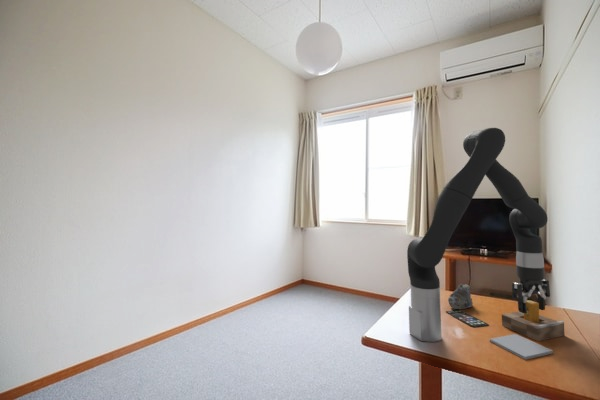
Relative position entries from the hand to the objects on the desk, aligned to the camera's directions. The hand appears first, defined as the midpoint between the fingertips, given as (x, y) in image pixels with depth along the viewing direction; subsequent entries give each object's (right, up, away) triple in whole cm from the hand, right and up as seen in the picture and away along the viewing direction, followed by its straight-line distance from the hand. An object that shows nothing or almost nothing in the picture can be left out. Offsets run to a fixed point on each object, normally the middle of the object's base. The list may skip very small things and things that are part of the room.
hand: (531, 310), depth 96 cm
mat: (-13, -7, -11) cm, 18 cm away
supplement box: (0, -7, 0) cm, 7 cm away
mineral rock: (-12, -8, +23) cm, 27 cm away
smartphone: (-16, -8, +11) cm, 21 cm away
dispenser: (0, -7, 0) cm, 7 cm away
